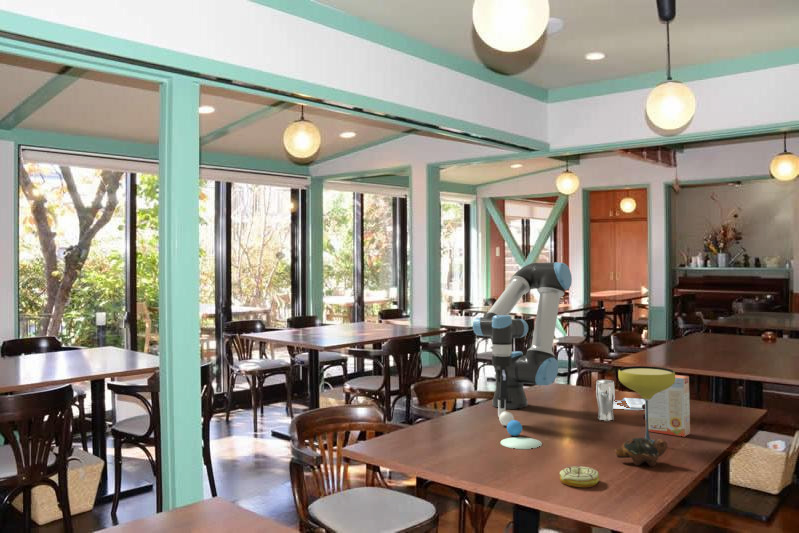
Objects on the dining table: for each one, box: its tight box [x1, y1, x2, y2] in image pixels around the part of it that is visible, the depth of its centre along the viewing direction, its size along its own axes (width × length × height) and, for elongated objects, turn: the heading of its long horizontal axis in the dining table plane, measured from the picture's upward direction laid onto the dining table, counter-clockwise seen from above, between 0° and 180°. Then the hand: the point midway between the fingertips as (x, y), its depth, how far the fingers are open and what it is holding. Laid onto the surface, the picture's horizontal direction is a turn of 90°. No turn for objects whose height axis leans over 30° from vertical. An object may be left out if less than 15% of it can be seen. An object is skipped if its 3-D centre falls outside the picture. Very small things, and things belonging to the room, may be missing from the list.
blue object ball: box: [506, 419, 523, 437], centre depth 234 cm, size 6×6×6 cm
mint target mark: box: [500, 436, 543, 450], centre depth 224 cm, size 14×14×1 cm
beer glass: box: [595, 379, 616, 422], centre depth 255 cm, size 7×7×15 cm
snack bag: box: [613, 397, 645, 411], centre depth 279 cm, size 19×20×2 cm
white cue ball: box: [498, 410, 515, 427], centre depth 248 cm, size 6×6×6 cm
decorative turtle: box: [614, 437, 668, 468], centre depth 200 cm, size 10×15×8 cm, turn 80°
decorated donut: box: [559, 465, 600, 489], centre depth 184 cm, size 10×11×4 cm
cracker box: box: [644, 374, 691, 438], centre depth 234 cm, size 14×6×21 cm, turn 47°
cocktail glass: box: [617, 365, 676, 443], centre depth 220 cm, size 18×18×25 cm
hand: (501, 416), depth 252 cm, fingers closed
